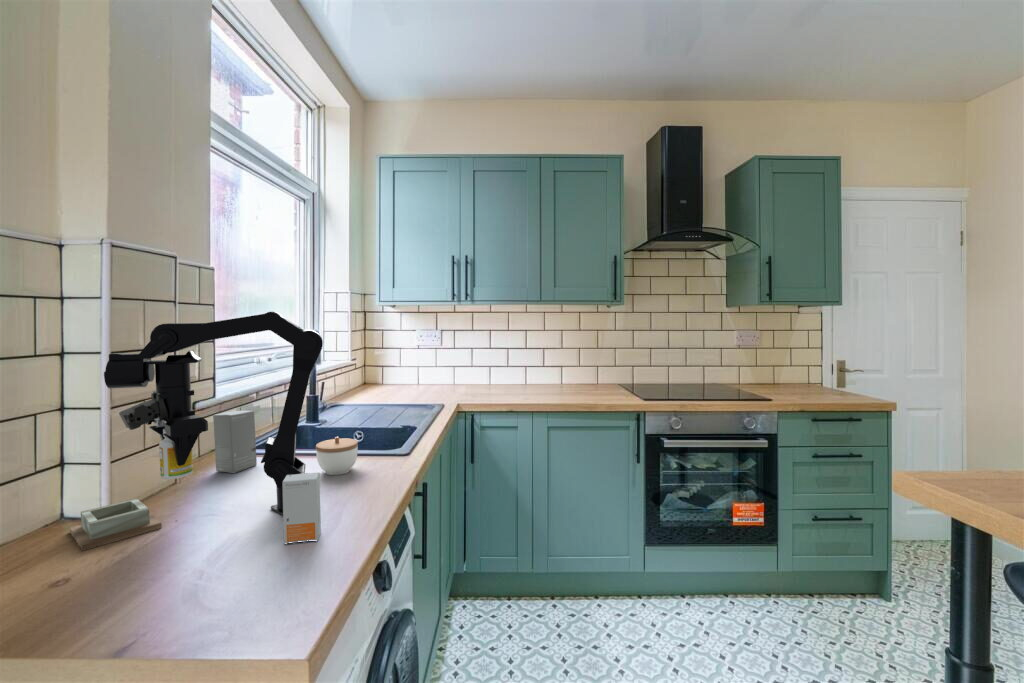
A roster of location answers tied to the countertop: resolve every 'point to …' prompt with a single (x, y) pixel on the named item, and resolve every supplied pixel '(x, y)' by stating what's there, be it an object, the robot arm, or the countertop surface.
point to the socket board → (113, 523)
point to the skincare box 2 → (301, 507)
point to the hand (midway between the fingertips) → (176, 462)
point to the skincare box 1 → (234, 441)
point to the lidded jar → (337, 455)
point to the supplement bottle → (172, 461)
